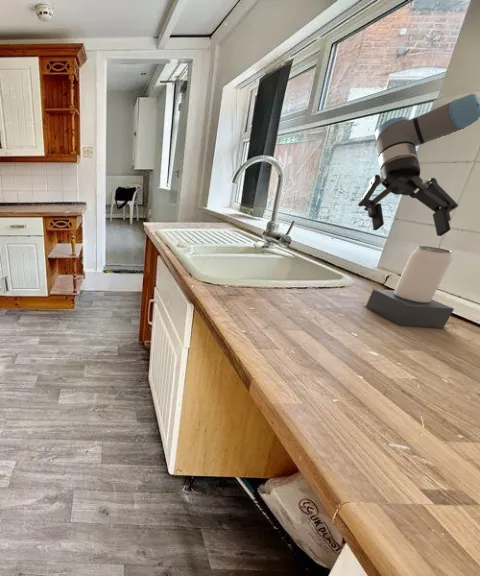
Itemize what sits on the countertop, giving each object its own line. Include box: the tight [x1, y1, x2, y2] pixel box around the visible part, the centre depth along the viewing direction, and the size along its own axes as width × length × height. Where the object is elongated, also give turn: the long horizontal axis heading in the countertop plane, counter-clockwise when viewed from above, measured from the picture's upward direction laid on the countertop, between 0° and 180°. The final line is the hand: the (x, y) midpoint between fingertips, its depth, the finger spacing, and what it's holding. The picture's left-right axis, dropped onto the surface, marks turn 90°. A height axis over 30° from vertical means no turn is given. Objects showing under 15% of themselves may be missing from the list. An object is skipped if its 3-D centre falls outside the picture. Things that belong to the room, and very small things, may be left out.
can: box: [394, 245, 453, 303], centre depth 71 cm, size 6×6×12 cm
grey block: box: [365, 288, 455, 329], centre depth 74 cm, size 10×10×5 cm
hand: (410, 230), depth 76 cm, fingers open, 13 cm apart
